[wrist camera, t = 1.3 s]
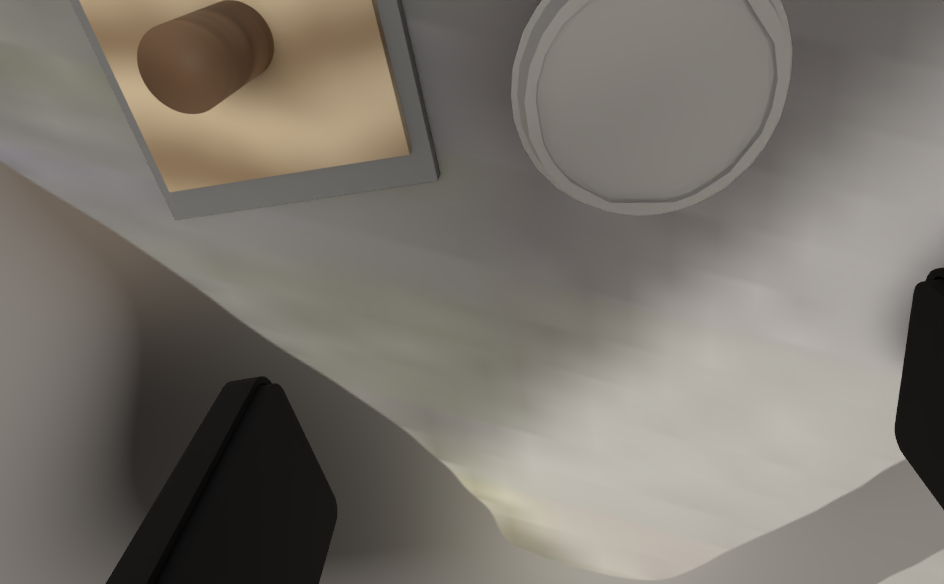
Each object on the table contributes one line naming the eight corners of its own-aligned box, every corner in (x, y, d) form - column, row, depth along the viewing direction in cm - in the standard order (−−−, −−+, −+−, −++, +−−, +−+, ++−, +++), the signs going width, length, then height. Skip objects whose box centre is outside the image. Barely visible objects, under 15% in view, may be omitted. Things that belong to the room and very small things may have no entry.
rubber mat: (17, -141, 29) (2, -142, 28) (349, -227, 26) (343, -231, 26) (182, 212, 38) (175, 220, 38) (439, 174, 36) (437, 181, 35)
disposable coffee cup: (481, 70, 33) (461, 153, 23) (583, -127, 28) (615, -133, 18) (635, 156, 34) (681, 268, 24) (756, -15, 30) (874, 37, 20)
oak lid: (45, -95, 29) (-72, -90, 23) (335, -166, 27) (283, -180, 21) (176, 186, 36) (110, 242, 31) (411, 149, 34) (389, 202, 28)
